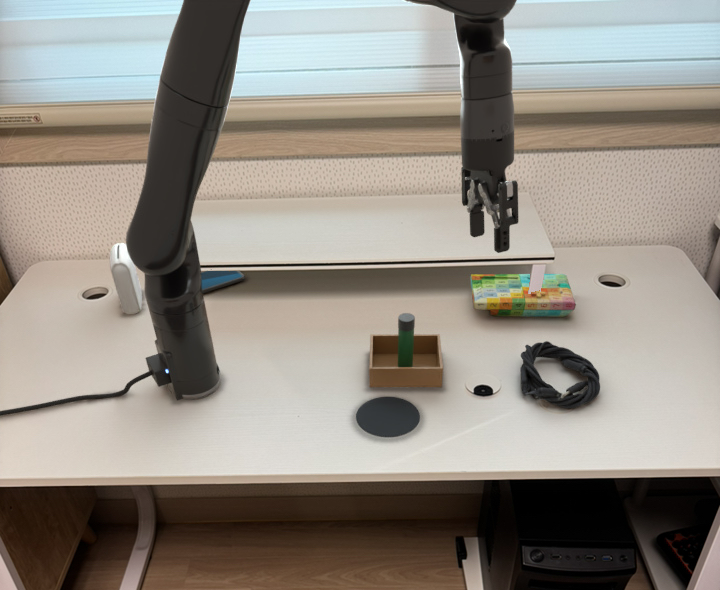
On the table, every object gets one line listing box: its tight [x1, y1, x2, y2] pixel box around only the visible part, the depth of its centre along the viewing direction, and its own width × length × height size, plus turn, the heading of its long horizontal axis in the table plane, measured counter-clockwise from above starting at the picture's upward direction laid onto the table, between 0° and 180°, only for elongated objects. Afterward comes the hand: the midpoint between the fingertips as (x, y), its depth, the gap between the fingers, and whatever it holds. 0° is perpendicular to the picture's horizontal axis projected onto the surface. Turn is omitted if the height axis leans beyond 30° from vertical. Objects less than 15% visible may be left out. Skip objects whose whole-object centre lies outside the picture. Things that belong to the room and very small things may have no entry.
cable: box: [520, 340, 601, 409], centre depth 125 cm, size 17×14×4 cm
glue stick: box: [397, 312, 416, 367], centre depth 125 cm, size 3×3×11 cm
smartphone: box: [201, 270, 246, 294], centre depth 154 cm, size 8×15×1 cm, turn 123°
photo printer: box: [109, 242, 143, 315], centre depth 145 cm, size 10×4×12 cm, turn 12°
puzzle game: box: [469, 273, 577, 318], centre depth 143 cm, size 12×5×20 cm
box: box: [368, 333, 444, 388], centre depth 127 cm, size 13×11×4 cm
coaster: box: [355, 396, 421, 438], centre depth 119 cm, size 11×11×1 cm
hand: (489, 243), depth 108 cm, fingers open, 8 cm apart
